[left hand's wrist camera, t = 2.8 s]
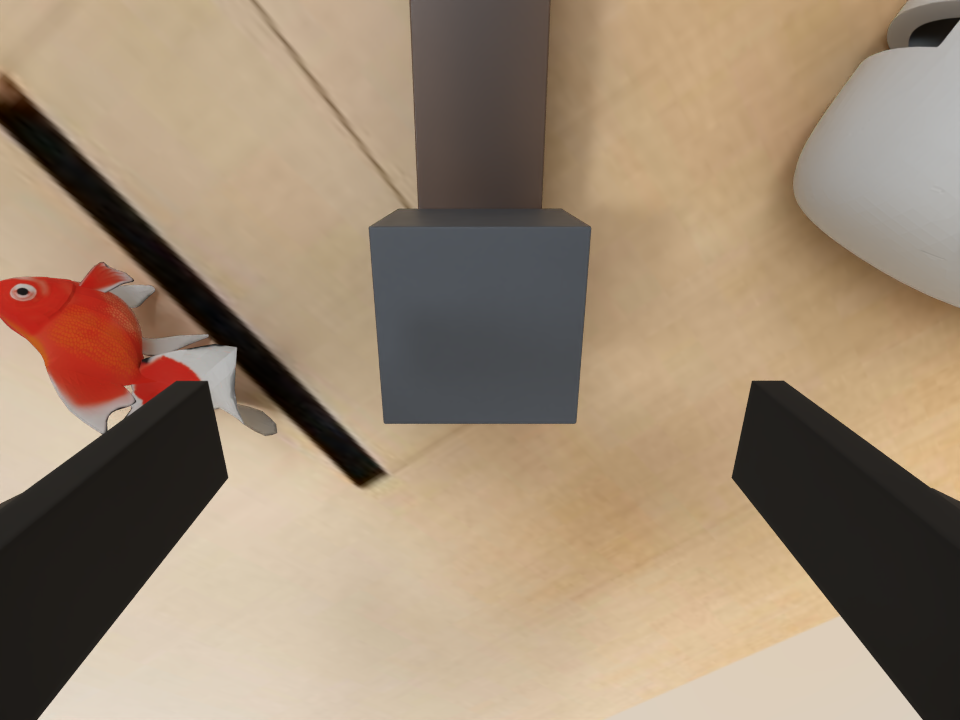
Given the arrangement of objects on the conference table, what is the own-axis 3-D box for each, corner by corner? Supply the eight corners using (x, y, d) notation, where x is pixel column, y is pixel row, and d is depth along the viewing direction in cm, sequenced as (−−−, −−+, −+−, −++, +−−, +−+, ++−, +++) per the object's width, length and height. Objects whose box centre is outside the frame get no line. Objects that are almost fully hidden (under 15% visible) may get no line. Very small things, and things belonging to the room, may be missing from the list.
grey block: (406, 362, 28) (383, 424, 21) (397, 208, 25) (368, 226, 18) (553, 362, 28) (576, 424, 21) (562, 208, 25) (591, 226, 18)
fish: (124, 169, 25) (-7, 322, 19) (337, 349, 36) (294, 484, 30) (19, 242, 30) (-113, 383, 24) (235, 383, 41) (180, 505, 35)
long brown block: (434, 342, 34) (425, 379, 28) (414, -234, 24) (394, -356, 18) (525, 342, 34) (534, 379, 28) (545, -234, 24) (565, -355, 18)
